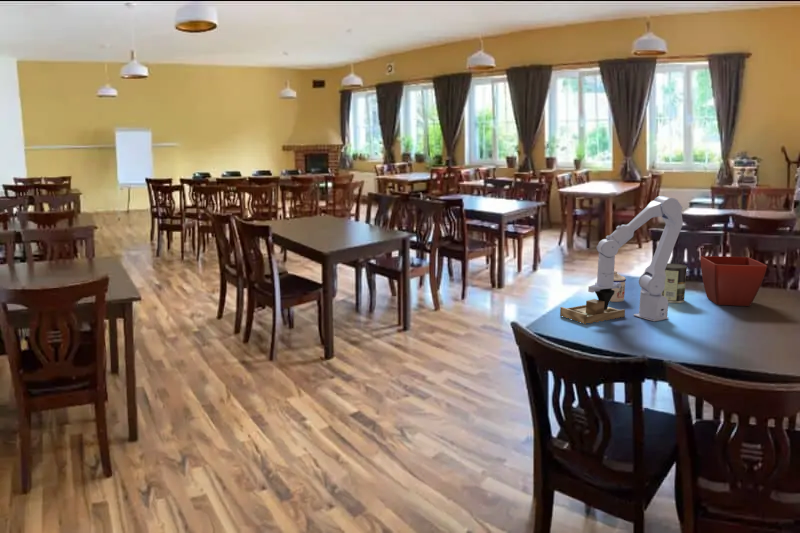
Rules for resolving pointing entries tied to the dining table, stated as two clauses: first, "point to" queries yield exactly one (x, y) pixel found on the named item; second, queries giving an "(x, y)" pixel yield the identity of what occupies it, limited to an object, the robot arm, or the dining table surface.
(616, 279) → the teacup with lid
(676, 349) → the dining table surface
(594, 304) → the walnut block
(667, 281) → the coffee can
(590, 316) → the board
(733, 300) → the plant pot
